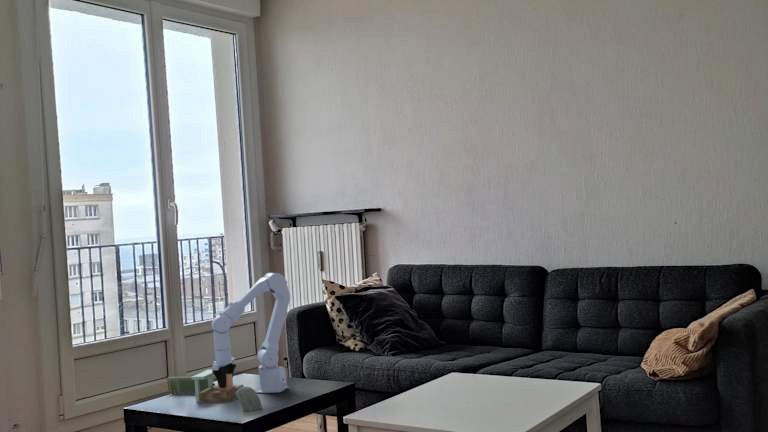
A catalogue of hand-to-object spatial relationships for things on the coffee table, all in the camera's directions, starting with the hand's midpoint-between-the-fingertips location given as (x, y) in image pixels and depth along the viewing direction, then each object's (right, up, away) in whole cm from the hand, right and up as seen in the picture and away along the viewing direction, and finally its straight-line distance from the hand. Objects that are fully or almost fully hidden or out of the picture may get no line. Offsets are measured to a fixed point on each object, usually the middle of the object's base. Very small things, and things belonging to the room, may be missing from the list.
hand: (225, 386), depth 291 cm
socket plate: (-2, -5, +1) cm, 5 cm away
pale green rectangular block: (-7, -5, +2) cm, 9 cm away
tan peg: (0, -4, 0) cm, 4 cm away
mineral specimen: (+12, -4, -22) cm, 25 cm away
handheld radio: (-14, -6, +14) cm, 20 cm away
